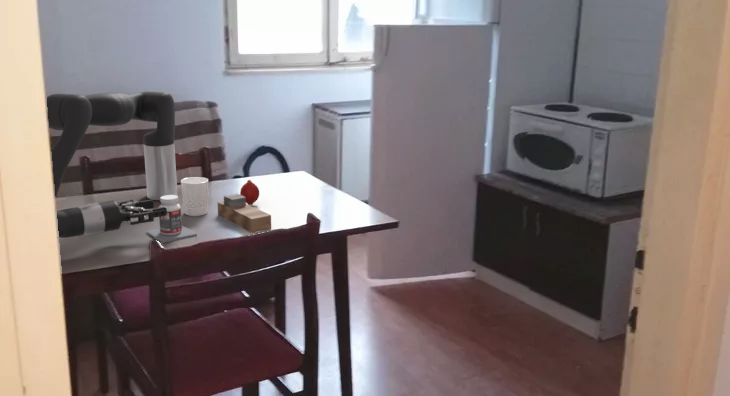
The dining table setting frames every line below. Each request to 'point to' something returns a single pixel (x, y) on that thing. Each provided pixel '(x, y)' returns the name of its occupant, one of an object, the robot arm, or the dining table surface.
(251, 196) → the onion
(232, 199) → the wooden block
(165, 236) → the grey pad
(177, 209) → the pill bottle
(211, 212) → the dining table surface
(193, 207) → the white cup
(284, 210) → the dining table surface
